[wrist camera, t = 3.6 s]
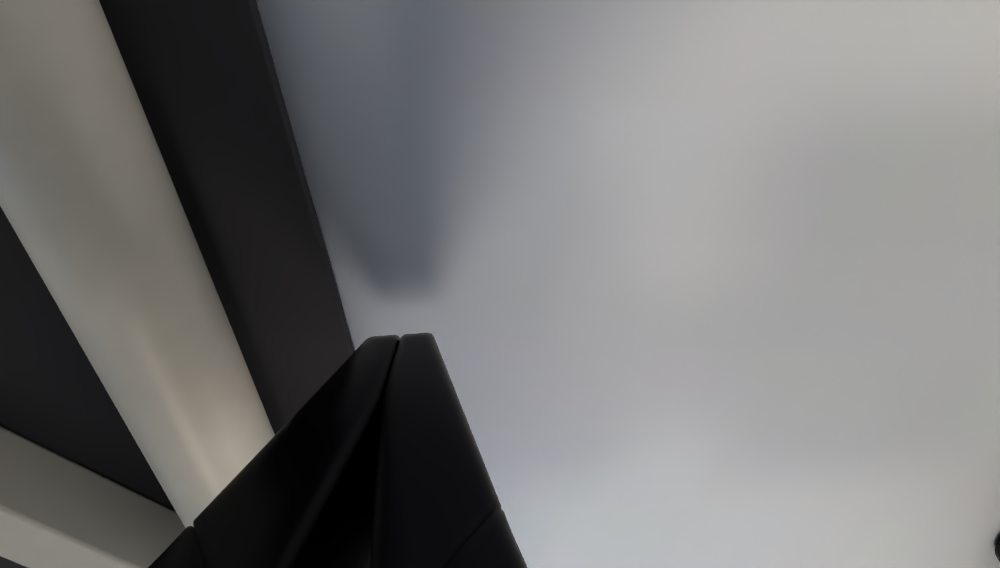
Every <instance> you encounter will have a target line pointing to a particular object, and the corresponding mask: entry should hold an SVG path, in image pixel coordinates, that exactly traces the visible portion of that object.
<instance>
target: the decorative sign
mask: <svg viewBox="0 0 1000 568" xmlns="http://www.w3.org/2000/svg"><path fill="white" fill-rule="evenodd" d="M995 554H996V556H997V558H998V560H999V561H1000V541H999V542H998V543H997V545H996V547H995Z"/></svg>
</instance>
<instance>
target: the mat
mask: <svg viewBox="0 0 1000 568" xmlns="http://www.w3.org/2000/svg"><path fill="white" fill-rule="evenodd" d="M99 2H100V4H101V7H102V9H103V12H104V14H105V17H106V19H107V21H108V24H109V26H110V29H111V31H112V34H113V36H114V39H115V41H116V44H117V46H118V49H119V51H120V54H121V56H122V59H123V61H124V63H125V66H126V68H127V71H128V73H129V76H130V78H131V81H132V83H133V86H134V88H135V91H136V93H137V96H138V98H139V101H140V103H141V105H142V108H143V110H144V113H145V115H146V118H147V120H148V123H149V125H150V128H151V130H152V133H153V135H154V138H155V140H156V143H157V145H158V147H159V150H160V152H161V155H162V157H163V160H164V162H165V165H166V167H167V170H168V172H169V175H170V177H171V180H172V182H173V185H174V187H175V189H176V192H177V194H178V197H179V199H180V202H181V204H182V207H183V209H184V212H185V214H186V217H187V219H188V222H189V224H190V227H191V229H192V231H193V234H194V236H195V239H196V241H197V244H198V246H199V249H200V251H201V254H202V256H203V259H204V261H205V264H206V266H207V269H208V271H209V274H210V276H211V278H212V281H213V283H214V286H215V288H216V291H217V293H218V296H219V298H220V301H221V303H222V306H223V308H224V311H225V313H226V316H227V318H228V320H229V323H230V325H231V328H232V330H233V333H234V335H235V338H236V340H237V343H238V345H239V348H240V350H241V353H242V355H243V358H244V360H245V362H246V365H247V367H248V370H249V372H250V375H251V377H252V380H253V382H254V385H255V387H256V390H257V392H258V395H259V397H260V400H261V402H262V404H263V407H264V409H265V412H266V414H267V417H268V419H269V422H270V424H271V427H272V429H273V432H274V434H275V435H276V434H277V433H278V431H279V430H280V429H281V428H282V427H283V426H284V425H285V424H286V423H287V422H288V421H289V420H290V419H291V418H292V417H293V416H294V415H295V414H296V413H297V412H298V410H299V409H300V408H301V407H302V406H303V405H304V404H305V403H306V402H307V401H308V400H309V399H310V398H311V397H312V396H313V395H314V394H315V393H316V392H317V391H318V390H319V388H320V387H321V386H322V385H323V384H324V383H325V382H326V381H327V380H328V379H329V378H330V377H331V376H332V375H333V374H334V373H335V372H336V371H337V370H338V369H339V367H340V366H341V365H342V364H343V363H344V362H345V361H346V360H347V359H348V358H349V357H350V356H351V355H352V354H353V353H354V348H353V344H352V341H351V337H350V334H349V330H348V327H347V323H346V320H345V316H344V313H343V309H342V305H341V302H340V298H339V295H338V291H337V288H336V284H335V281H334V277H333V274H332V270H331V266H330V263H329V259H328V256H327V252H326V249H325V245H324V242H323V238H322V235H321V231H320V227H319V224H318V220H317V217H316V213H315V210H314V206H313V203H312V199H311V195H310V192H309V188H308V185H307V181H306V178H305V174H304V171H303V167H302V164H301V160H300V156H299V153H298V149H297V146H296V142H295V139H294V135H293V132H292V128H291V125H290V121H289V117H288V114H287V110H286V107H285V103H284V100H283V96H282V93H281V89H280V86H279V82H278V78H277V75H276V71H275V68H274V64H273V61H272V57H271V54H270V50H269V46H268V43H267V39H266V36H265V32H264V29H263V25H262V22H261V18H260V15H259V11H258V7H257V4H256V0H99ZM0 426H1V427H3V428H5V429H8V430H10V431H12V432H14V433H16V434H18V435H20V436H22V437H24V438H26V439H28V440H30V441H32V442H34V443H36V444H38V445H40V446H42V447H44V448H46V449H48V450H50V451H52V452H54V453H56V454H58V455H60V456H63V457H65V458H67V459H69V460H71V461H73V462H75V463H77V464H79V465H81V466H83V467H85V468H87V469H89V470H91V471H93V472H95V473H97V474H99V475H101V476H103V477H105V478H107V479H109V480H111V481H113V482H115V483H118V484H120V485H122V486H124V487H126V488H128V489H130V490H132V491H134V492H136V493H138V494H140V495H142V496H144V497H146V498H148V499H150V500H152V501H154V502H156V503H158V504H160V505H162V506H164V507H166V508H168V509H170V510H173V511H175V509H174V507H173V505H172V504H171V502H170V500H169V499H168V497H167V495H166V493H165V492H164V490H163V488H162V486H161V485H160V483H159V481H158V479H157V478H156V476H155V474H154V472H153V471H152V469H151V467H150V465H149V464H148V462H147V460H146V459H145V457H144V455H143V453H142V452H141V450H140V448H139V446H138V445H137V443H136V441H135V439H134V438H133V436H132V434H131V432H130V431H129V429H128V427H127V425H126V424H125V422H124V420H123V419H122V417H121V415H120V413H119V412H118V410H117V408H116V406H115V405H114V403H113V401H112V399H111V398H110V396H109V394H108V392H107V391H106V389H105V387H104V385H103V384H102V382H101V380H100V378H99V377H98V375H97V373H96V372H95V370H94V368H93V366H92V365H91V363H90V361H89V359H88V358H87V356H86V354H85V352H84V351H83V349H82V347H81V345H80V344H79V342H78V340H77V338H76V337H75V335H74V333H73V332H72V330H71V328H70V326H69V325H68V323H67V321H66V319H65V318H64V316H63V314H62V312H61V311H60V309H59V307H58V305H57V304H56V302H55V300H54V298H53V297H52V295H51V293H50V292H49V290H48V288H47V286H46V285H45V283H44V281H43V279H42V278H41V276H40V274H39V272H38V271H37V269H36V267H35V265H34V264H33V262H32V260H31V258H30V257H29V255H28V253H27V251H26V250H25V248H24V246H23V245H22V243H21V241H20V239H19V238H18V236H17V234H16V232H15V231H14V229H13V227H12V225H11V224H10V222H9V220H8V218H7V217H6V215H5V213H4V211H3V210H2V208H1V206H0ZM175 512H176V511H175ZM0 568H28V567H25V566H23V565H21V564H18V563H16V562H13V561H11V560H9V559H6V558H4V557H1V556H0Z"/></svg>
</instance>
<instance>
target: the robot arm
mask: <svg viewBox="0 0 1000 568" xmlns="http://www.w3.org/2000/svg"><path fill="white" fill-rule="evenodd" d="M193 526H194V527H193ZM193 526H188V527H187V528H186V529H185V530H184V531H183V532H182V533H181V534H180V535H179V536H178V537H177V538H176V539H175V540H174V541H173V542H172V543H171V544H170V545H169V546H168V548H167V549H166V550H165V551H164V552H163V553H162V554H161V555H160V556H159V557H158V558H157V559H156V560H155V561H154V562H153V563H152V564H151V565H150V566H149V567H148V568H527V566H526V563H525V561H524V559H523V557H522V554H521V552H520V550H519V548H518V545H517V543H516V541H515V539H514V537H513V534H512V532H511V529H510V526H509V524H508V521H507V519H506V516H505V514H504V512H503V510H501V505H500V502H499V500H498V497H497V495H496V492H495V490H494V487H493V485H492V482H491V480H490V477H489V474H488V472H487V469H486V467H485V464H484V462H483V459H482V457H481V454H480V452H479V449H478V447H477V444H476V442H475V439H474V437H473V434H472V432H471V429H470V427H469V424H468V422H467V419H466V417H465V414H464V412H463V409H462V407H461V404H460V402H459V399H458V397H457V394H456V392H455V389H454V387H453V384H452V382H451V379H450V376H449V374H448V371H447V369H446V366H445V364H444V361H443V359H442V356H441V354H440V351H439V349H438V346H437V344H436V341H435V339H434V336H433V335H432V334H430V333H417V334H405V335H403V336H402V337H401V338H400V337H399V336H397V335H387V336H373V337H370V338H368V339H366V340H365V341H364V342H363V343H362V344H361V345H360V347H359V348H358V349H357V350H356V351H355V352H354V353H353V354H352V355H351V356H350V357H349V358H348V359H347V360H346V361H345V362H344V363H343V364H342V365H341V366H340V367H339V369H338V370H337V371H336V372H335V373H334V374H333V375H332V376H331V377H330V378H329V379H328V380H327V381H326V382H325V383H324V384H323V385H322V386H321V387H320V388H319V390H318V391H317V392H316V393H315V394H314V395H313V396H312V397H311V398H310V399H309V400H308V401H307V402H306V403H305V404H304V405H303V406H302V407H301V408H300V409H299V410H298V412H297V413H296V414H295V415H294V416H293V417H292V418H291V419H290V420H289V421H288V422H287V423H286V424H285V425H284V426H283V427H282V428H281V429H280V430H279V431H278V433H277V434H276V435H275V436H274V437H273V438H272V439H271V440H270V441H269V442H268V443H267V444H266V445H265V446H264V447H263V448H262V449H261V450H260V451H259V452H258V453H257V455H256V456H255V457H254V458H253V459H252V460H251V461H250V462H249V463H248V464H247V465H246V466H245V467H244V468H243V469H242V470H241V471H240V472H239V473H238V474H237V476H236V477H235V478H234V479H233V480H232V481H231V482H230V483H229V484H228V485H227V486H226V487H225V488H224V489H223V490H222V491H221V492H220V493H219V494H218V495H217V496H216V498H215V499H214V500H213V501H212V502H211V503H210V504H209V505H208V506H207V507H206V508H205V509H204V510H203V511H202V512H201V513H200V514H199V515H198V516H197V517H196V519H195V520H194V521H193Z"/></svg>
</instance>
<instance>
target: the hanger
mask: <svg viewBox="0 0 1000 568" xmlns="http://www.w3.org/2000/svg"><path fill="white" fill-rule="evenodd" d="M0 206H1V208H2V210H3V211H4V213H5V215H6V217H7V218H8V220H9V222H10V224H11V225H12V227H13V229H14V231H15V232H16V234H17V236H18V238H19V239H20V241H21V243H22V245H23V246H24V248H25V250H26V251H27V253H28V255H29V257H30V258H31V260H32V262H33V264H34V265H35V267H36V269H37V271H38V272H39V274H40V276H41V278H42V279H43V281H44V283H45V285H46V286H47V288H48V290H49V292H50V293H51V295H52V297H53V298H54V300H55V302H56V304H57V305H58V307H59V309H60V311H61V312H62V314H63V316H64V318H65V319H66V321H67V323H68V325H69V326H70V328H71V330H72V332H73V333H74V335H75V337H76V338H77V340H78V342H79V344H80V345H81V347H82V349H83V351H84V352H85V354H86V356H87V358H88V359H89V361H90V363H91V365H92V366H93V368H94V370H95V372H96V373H97V375H98V377H99V378H100V380H101V382H102V384H103V385H104V387H105V389H106V391H107V392H108V394H109V396H110V398H111V399H112V401H113V403H114V405H115V406H116V408H117V410H118V412H119V413H120V415H121V417H122V419H123V420H124V422H125V424H126V425H127V427H128V429H129V431H130V432H131V434H132V436H133V438H134V439H135V441H136V443H137V445H138V446H139V448H140V450H141V452H142V453H143V455H144V457H145V459H146V460H147V462H148V464H149V465H150V467H151V469H152V471H153V472H154V474H155V476H156V478H157V479H158V481H159V483H160V485H161V486H162V488H163V490H164V492H165V493H166V495H167V497H168V499H169V500H170V502H171V504H172V505H173V507H174V509H175V511H176V512H175V511H173V510H170V509H168V508H166V507H164V506H162V505H160V504H158V503H156V502H154V501H152V500H150V499H148V498H146V497H144V496H142V495H140V494H138V493H136V492H134V491H132V490H130V489H128V488H126V487H124V486H122V485H120V484H118V483H115V482H113V481H111V480H109V479H107V478H105V477H103V476H101V475H99V474H97V473H95V472H93V471H91V470H89V469H87V468H85V467H83V466H81V465H79V464H77V463H75V462H73V461H71V460H69V459H67V458H65V457H63V456H60V455H58V454H56V453H54V452H52V451H50V450H48V449H46V448H44V447H42V446H40V445H38V444H36V443H34V442H32V441H30V440H28V439H26V438H24V437H22V436H20V435H18V434H16V433H14V432H12V431H10V430H8V429H5V428H3V427H1V426H0V556H1V557H4V558H6V559H9V560H11V561H13V562H16V563H18V564H21V565H23V566H25V567H28V568H148V567H149V566H150V565H151V564H152V563H153V562H154V561H155V560H156V559H157V558H158V557H159V556H160V555H161V554H162V553H163V552H164V551H165V550H166V549H167V548H168V546H169V545H170V544H171V543H172V542H173V541H174V540H175V539H176V538H177V537H178V536H179V535H180V534H181V533H182V532H183V531H184V530H185V529H186V528H187V527H188V526H193V521H194V520H195V519H196V517H197V516H198V515H199V514H200V513H201V512H202V511H203V510H204V509H205V508H206V507H207V506H208V505H209V504H210V503H211V502H212V501H213V500H214V499H215V498H216V496H217V495H218V494H219V493H220V492H221V491H222V490H223V489H224V488H225V487H226V486H227V485H228V484H229V483H230V482H231V481H232V480H233V479H234V478H235V477H236V476H237V474H238V473H239V472H240V471H241V470H242V469H243V468H244V467H245V466H246V465H247V464H248V463H249V462H250V461H251V460H252V459H253V458H254V457H255V456H256V455H257V453H258V452H259V451H260V450H261V449H262V448H263V447H264V446H265V445H266V444H267V443H268V442H269V441H270V440H271V439H272V438H273V437H274V436H275V434H274V432H273V429H272V427H271V424H270V422H269V419H268V417H267V414H266V412H265V409H264V407H263V404H262V402H261V400H260V397H259V395H258V392H257V390H256V387H255V385H254V382H253V380H252V377H251V375H250V372H249V370H248V367H247V365H246V362H245V360H244V358H243V355H242V353H241V350H240V348H239V345H238V343H237V340H236V338H235V335H234V333H233V330H232V328H231V325H230V323H229V320H228V318H227V316H226V313H225V311H224V308H223V306H222V303H221V301H220V298H219V296H218V293H217V291H216V288H215V286H214V283H213V281H212V278H211V276H210V274H209V271H208V269H207V266H206V264H205V261H204V259H203V256H202V254H201V251H200V249H199V246H198V244H197V241H196V239H195V236H194V234H193V231H192V229H191V227H190V224H189V222H188V219H187V217H186V214H185V212H184V209H183V207H182V204H181V202H180V199H179V197H178V194H177V192H176V189H175V187H174V185H173V182H172V180H171V177H170V175H169V172H168V170H167V167H166V165H165V162H164V160H163V157H162V155H161V152H160V150H159V147H158V145H157V143H156V140H155V138H154V135H153V133H152V130H151V128H150V125H149V123H148V120H147V118H146V115H145V113H144V110H143V108H142V105H141V103H140V101H139V98H138V96H137V93H136V91H135V88H134V86H133V83H132V81H131V78H130V76H129V73H128V71H127V68H126V66H125V63H124V61H123V59H122V56H121V54H120V51H119V49H118V46H117V44H116V41H115V39H114V36H113V34H112V31H111V29H110V26H109V24H108V21H107V19H106V17H105V14H104V12H103V9H102V7H101V4H100V2H99V0H0ZM193 527H194V526H193Z"/></svg>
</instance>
